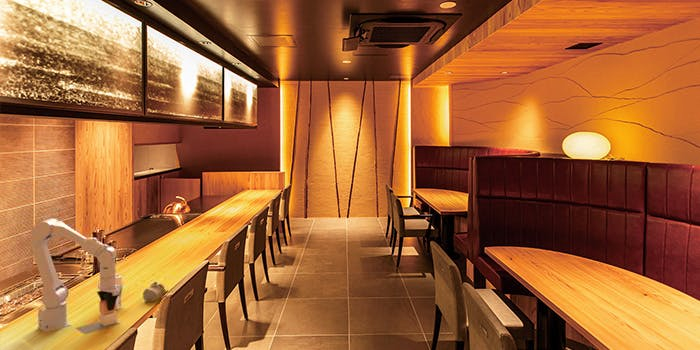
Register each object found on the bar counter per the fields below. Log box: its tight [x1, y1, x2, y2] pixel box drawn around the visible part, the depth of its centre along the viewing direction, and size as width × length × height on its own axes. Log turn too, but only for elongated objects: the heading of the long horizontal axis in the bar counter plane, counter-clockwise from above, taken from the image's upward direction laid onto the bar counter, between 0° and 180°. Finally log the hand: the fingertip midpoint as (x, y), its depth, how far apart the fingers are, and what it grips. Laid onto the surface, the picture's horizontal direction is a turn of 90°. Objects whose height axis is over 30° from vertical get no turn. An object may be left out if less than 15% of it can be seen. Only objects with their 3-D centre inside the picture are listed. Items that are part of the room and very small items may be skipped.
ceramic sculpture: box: [142, 281, 169, 303], centre depth 225 cm, size 11×9×15 cm
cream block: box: [99, 310, 118, 326], centre depth 193 cm, size 5×4×4 cm
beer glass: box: [116, 273, 124, 310], centre depth 211 cm, size 7×7×15 cm
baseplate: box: [75, 321, 121, 335], centre depth 190 cm, size 14×9×1 cm, turn 141°
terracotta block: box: [98, 300, 117, 314], centre depth 192 cm, size 5×4×4 cm
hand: (108, 308), depth 192 cm, fingers closed on terracotta block, 4 cm apart
